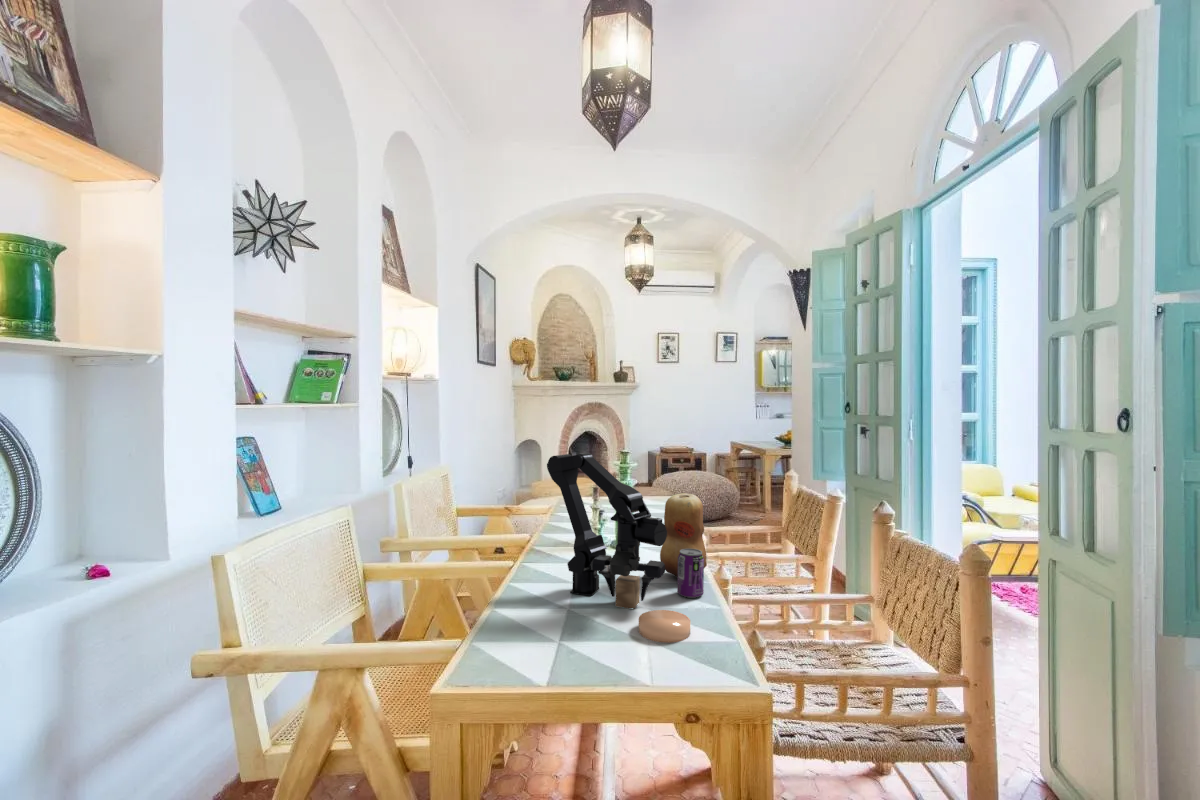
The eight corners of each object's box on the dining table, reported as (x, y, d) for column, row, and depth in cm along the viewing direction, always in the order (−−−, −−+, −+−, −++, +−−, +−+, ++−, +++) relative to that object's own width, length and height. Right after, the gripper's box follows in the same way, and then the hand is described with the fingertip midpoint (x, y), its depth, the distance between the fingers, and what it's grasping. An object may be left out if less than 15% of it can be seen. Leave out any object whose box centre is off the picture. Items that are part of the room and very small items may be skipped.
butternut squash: (658, 583, 168) (659, 497, 167) (660, 569, 181) (661, 489, 181) (707, 586, 166) (708, 499, 165) (705, 571, 179) (706, 491, 178)
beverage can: (703, 600, 154) (703, 556, 154) (676, 598, 156) (676, 554, 155) (703, 591, 161) (704, 548, 161) (678, 589, 163) (678, 547, 162)
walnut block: (615, 606, 149) (615, 579, 149) (621, 600, 154) (621, 574, 154) (634, 609, 148) (634, 582, 148) (639, 602, 152) (639, 576, 152)
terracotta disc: (632, 638, 131) (632, 625, 131) (646, 619, 142) (646, 607, 142) (684, 647, 127) (684, 633, 127) (694, 626, 138) (694, 614, 138)
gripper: (583, 543, 146) (583, 604, 147) (655, 550, 140) (654, 614, 140) (598, 533, 157) (598, 590, 157) (665, 539, 150) (665, 599, 151)
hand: (627, 598), depth 151 cm, fingers open, 8 cm apart
